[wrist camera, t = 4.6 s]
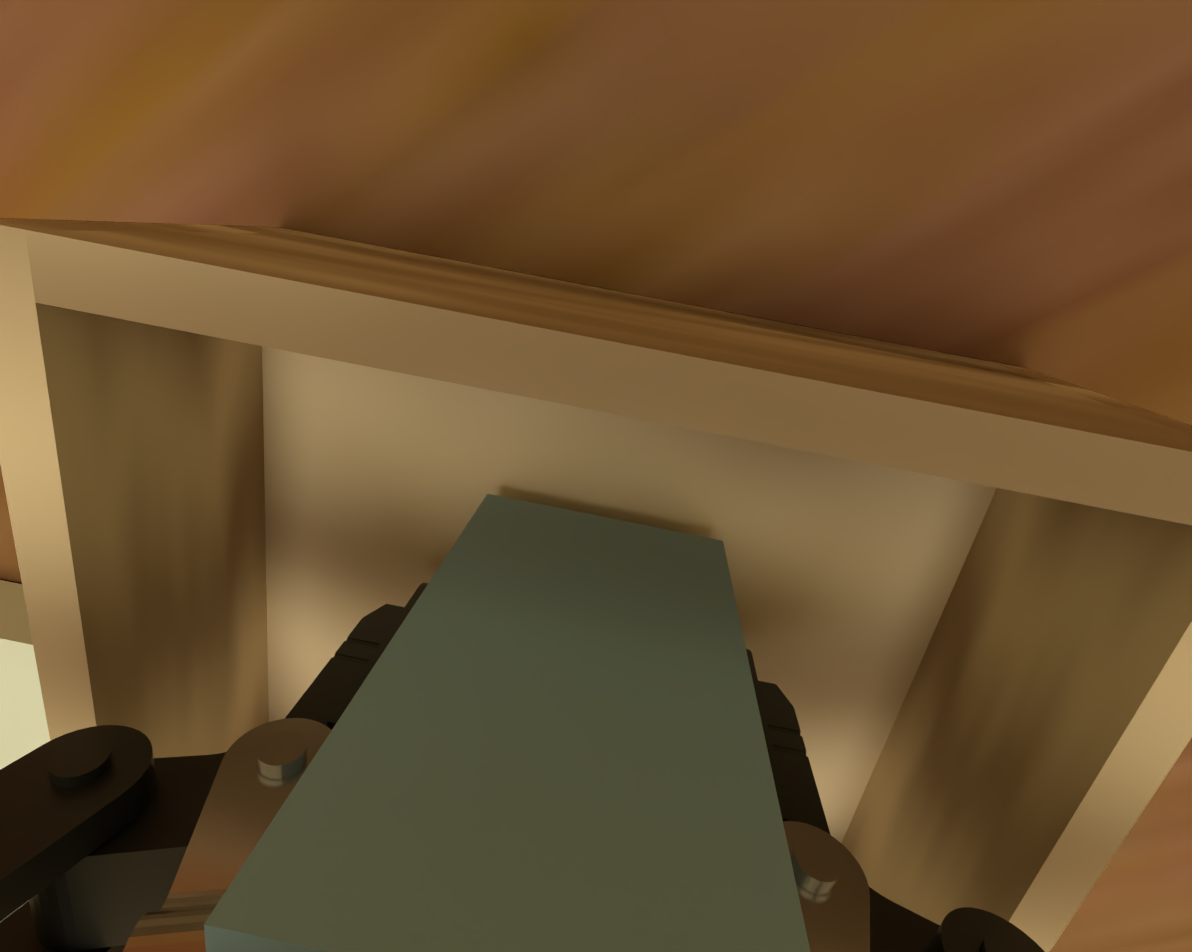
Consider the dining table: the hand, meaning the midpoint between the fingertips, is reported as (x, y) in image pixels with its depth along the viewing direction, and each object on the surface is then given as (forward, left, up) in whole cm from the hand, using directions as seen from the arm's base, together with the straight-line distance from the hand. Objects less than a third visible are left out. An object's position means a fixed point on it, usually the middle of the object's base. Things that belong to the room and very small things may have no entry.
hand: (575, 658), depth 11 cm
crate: (0, 0, -4) cm, 4 cm away
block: (0, 0, -1) cm, 1 cm away
